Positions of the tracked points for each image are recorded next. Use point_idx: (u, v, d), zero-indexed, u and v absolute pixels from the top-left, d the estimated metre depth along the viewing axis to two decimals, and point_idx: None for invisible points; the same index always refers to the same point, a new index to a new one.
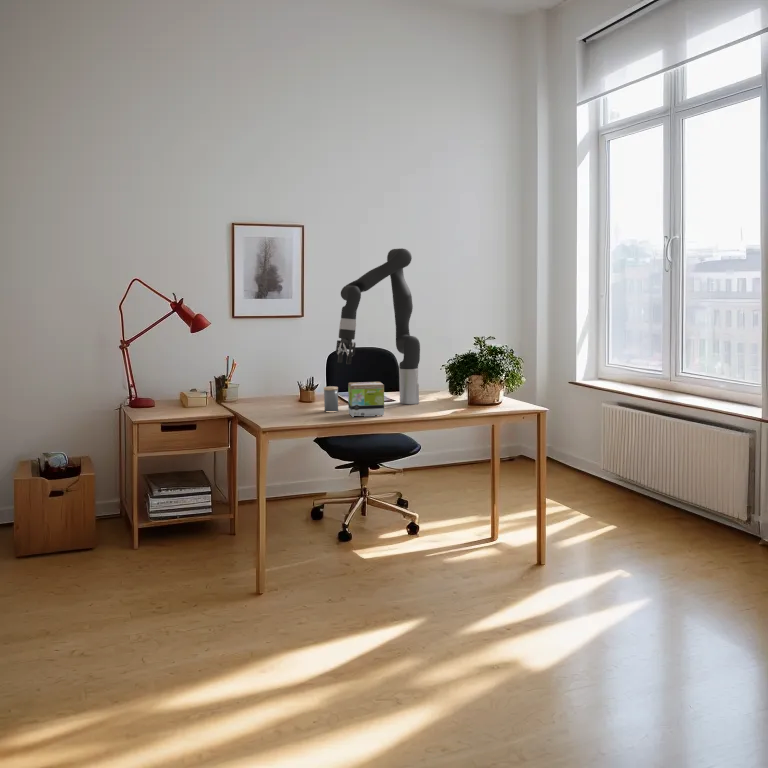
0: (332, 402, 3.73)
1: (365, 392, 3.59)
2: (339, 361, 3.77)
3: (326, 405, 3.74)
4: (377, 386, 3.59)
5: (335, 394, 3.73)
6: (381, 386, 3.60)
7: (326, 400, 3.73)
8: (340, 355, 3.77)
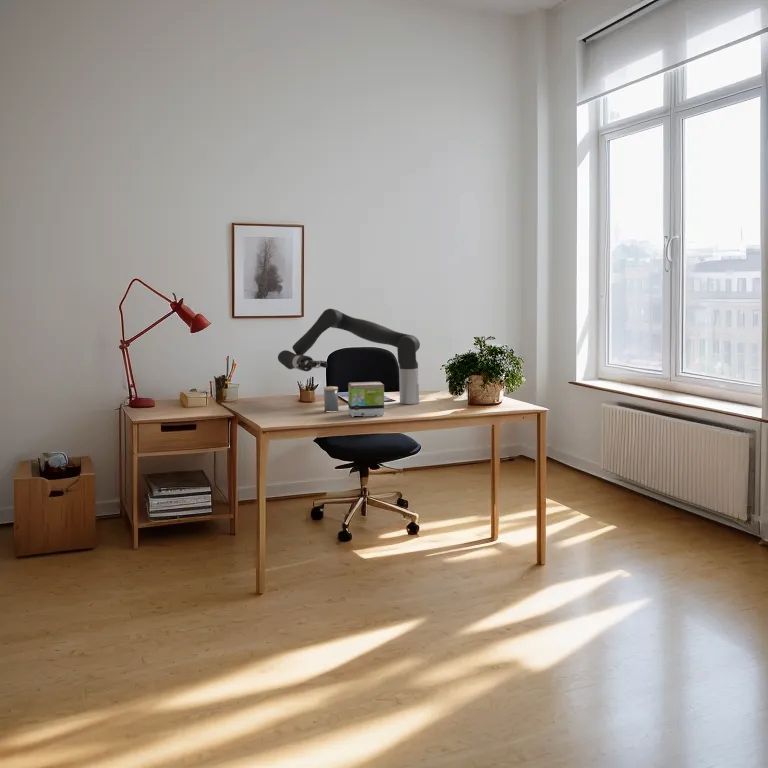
0: (332, 402, 3.73)
1: (365, 392, 3.59)
2: (325, 366, 3.85)
3: (326, 405, 3.74)
4: (377, 386, 3.60)
5: (335, 394, 3.73)
6: (381, 386, 3.60)
7: (326, 400, 3.73)
8: (322, 365, 3.88)
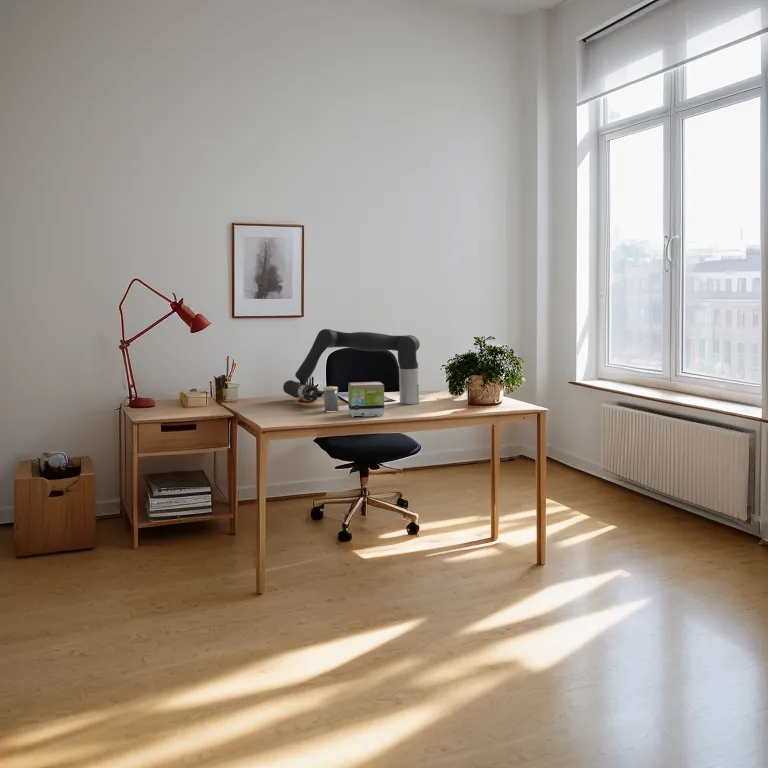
0: (332, 402, 3.73)
1: (365, 392, 3.59)
2: None
3: (326, 405, 3.74)
4: (377, 386, 3.60)
5: (335, 394, 3.73)
6: (381, 386, 3.60)
7: (326, 400, 3.73)
8: None
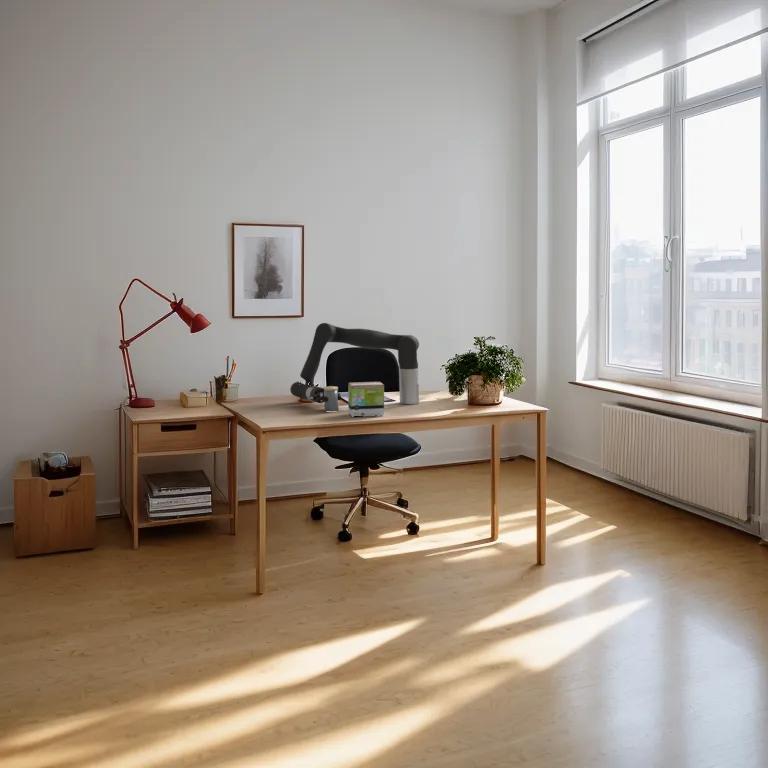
0: (332, 402, 3.73)
1: (364, 392, 3.59)
2: (338, 398, 3.76)
3: (326, 405, 3.74)
4: (377, 386, 3.60)
5: (335, 394, 3.73)
6: (381, 386, 3.60)
7: None
8: None
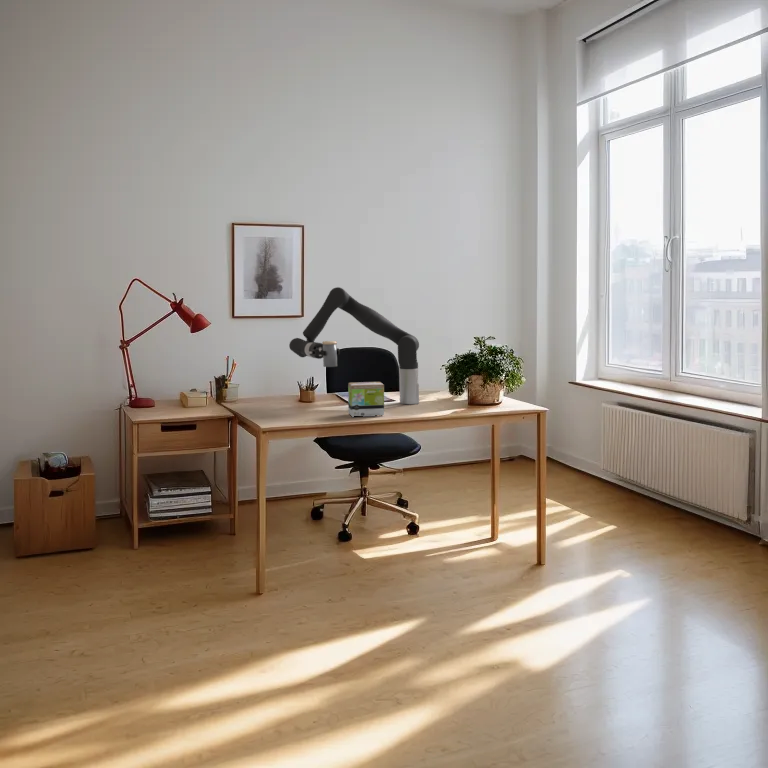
0: (331, 357, 3.70)
1: (365, 392, 3.59)
2: (337, 353, 3.73)
3: (324, 359, 3.71)
4: (377, 386, 3.60)
5: (334, 348, 3.70)
6: (381, 386, 3.60)
7: None
8: None
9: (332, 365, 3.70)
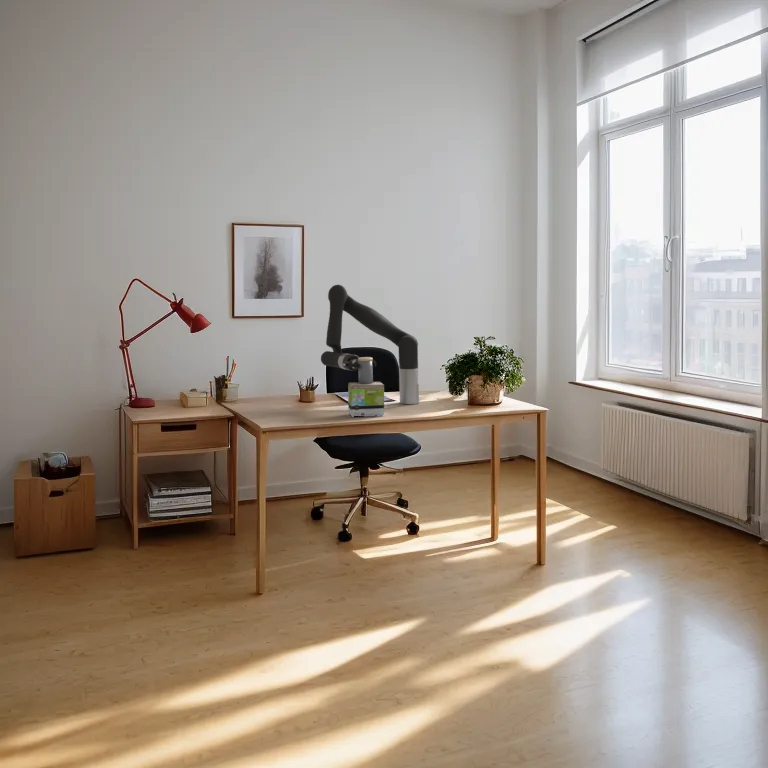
0: (367, 373, 3.60)
1: (365, 392, 3.59)
2: (374, 365, 3.63)
3: (360, 376, 3.61)
4: (377, 386, 3.60)
5: (370, 365, 3.60)
6: (381, 386, 3.60)
7: (360, 371, 3.60)
8: None
9: (368, 382, 3.60)
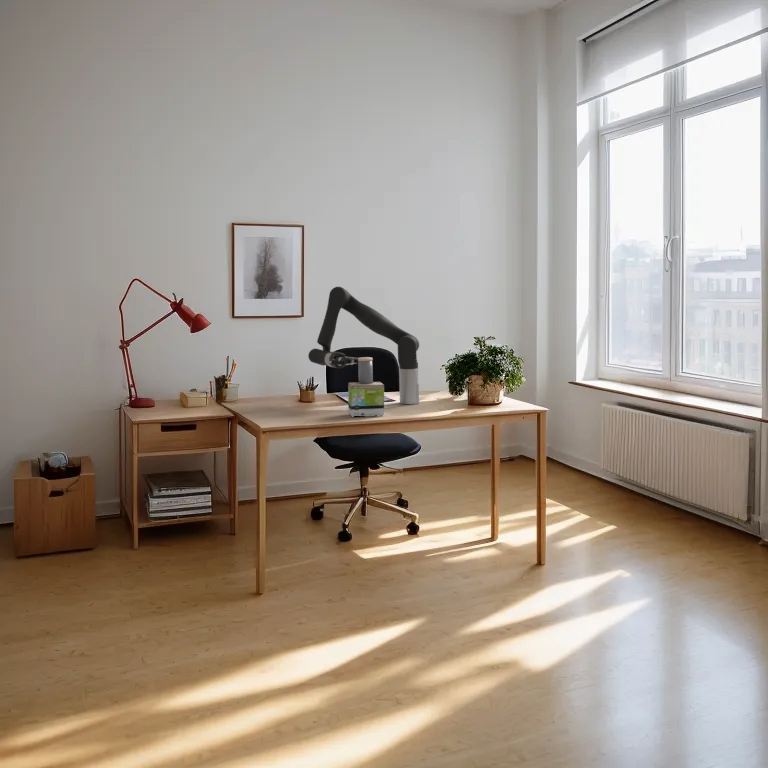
0: (367, 373, 3.60)
1: (365, 392, 3.59)
2: None
3: (360, 376, 3.61)
4: (377, 386, 3.60)
5: (370, 365, 3.60)
6: (381, 386, 3.60)
7: (360, 371, 3.60)
8: (356, 361, 3.76)
9: (368, 382, 3.60)
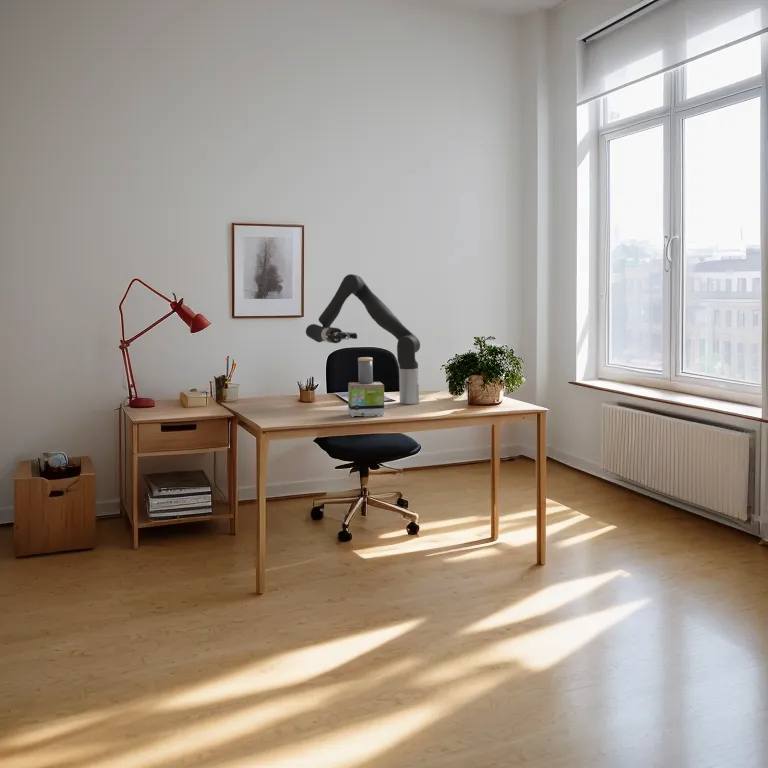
0: (367, 373, 3.60)
1: (365, 392, 3.59)
2: (355, 337, 3.83)
3: (360, 376, 3.61)
4: (377, 386, 3.60)
5: (370, 365, 3.60)
6: (381, 386, 3.60)
7: (361, 371, 3.60)
8: (352, 336, 3.85)
9: (368, 382, 3.60)
